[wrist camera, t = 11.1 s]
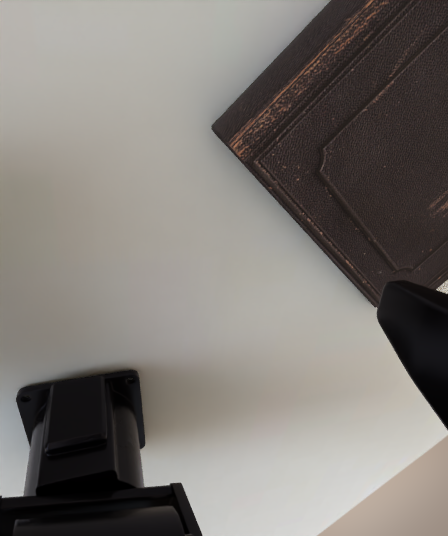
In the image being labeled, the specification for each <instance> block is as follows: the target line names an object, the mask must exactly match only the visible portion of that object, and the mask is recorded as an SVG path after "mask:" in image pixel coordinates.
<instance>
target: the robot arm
mask: <svg viewBox="0 0 448 536" xmlns="http://www.w3.org/2000/svg"><path fill="white" fill-rule="evenodd" d="M377 319H378V322H379V324H380V326H381V327H382V329H383V331H384V333H385V334H386V336H387V338H388V340H389V341H390V343H391V345H392V347H393V348H394V350H395V352H396V354H397V355H398V357H399V359H400V360H401V362H402V364H403V366H404V367H405V369H406V371H407V372H408V374H409V376H410V377H411V379H412V380H413V382H414V383H415V385H416V386H417V388H418V389H419V390H420V392H421V393H422V395H423V396H424V397H425V399H426V400H427V402H428V403H429V404H430V406H431V407H432V409H433V410H434V412H435V413H436V414H437V416H438V417H439V419H440V420H441V421H442V423H443V424H444V426H445V427H446V428H447V430H448V294H446V293H443V292H440V291H437V290H434V289H431V288H428V287H425V286H422V285H418V284H415V283H412V282H409V281H406V280H397V281H389V282H387V283H386V284H385V285H384V287H383V290H382V294H381V298H380V301H379V305H378V309H377ZM129 378H133V379H131V380H128V379H129ZM24 396H30V397H24ZM16 402H17V405H18V408H19V412H20V415H21V418H22V422H23V425H24V428H25V432H26V435H27V438H28V441H29V445H30V454H29V461H28V468H27V475H26V481H25V488H24V495H23V496H21V497H8V498H2V496H0V536H202V533H201V531H200V528H199V526H198V523H197V521H196V518H195V516H194V513H193V511H192V508H191V506H190V503H189V501H188V498H187V496H186V493H185V491H184V488H183V486H182V483H170V485H168V486H155V487H144V480H143V471H142V463H141V454H140V449H142V448H143V447H144V446H145V434H144V424H143V413H142V402H141V391H140V380H139V374H138V372H137V371H135V370H126V371H120V372H114V373H108V374H102V375H96V376H90V377H84V378H77V379H71V380H65V381H59V382H53V383H47V384H41V385H35V386H29V387H24V388H21V389H20V390H19V391H18V393H17V397H16Z"/></svg>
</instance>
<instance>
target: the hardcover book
mask: <svg viewBox="0 0 448 536" xmlns="http://www.w3.org/2000/svg"><path fill="white" fill-rule="evenodd" d="M212 130H213V131H214V133H215V134H216V135H217V136H218V137H219V138H220V139H221V141H222V142H223V143H224V144H225V145H226V146H227V147H228V148H229V149H230V150H231V151H232V153H233V154H234V155H235V156H236V157H237V158H238V159H239V160H240V161H241V162H242V163H243V164H244V166H245V167H246V168H247V169H248V170H249V171H250V172H251V173H252V174H253V175H254V176H255V178H256V179H257V180H258V181H259V182H260V183H261V184H262V185H263V186H264V187H265V188H266V190H267V191H268V192H269V193H270V194H271V195H272V196H273V197H274V198H275V199H276V200H277V201H278V203H279V204H280V205H281V206H282V207H283V208H284V209H285V210H286V211H287V212H288V213H289V215H290V216H291V217H292V218H293V219H294V220H295V221H296V222H297V223H298V224H299V225H300V227H301V228H302V229H303V230H304V231H305V232H306V233H307V234H308V235H309V236H310V237H311V238H312V240H313V241H314V242H315V243H316V244H317V245H318V246H319V247H320V248H321V249H322V250H323V252H324V253H325V254H326V255H327V256H328V257H329V258H330V259H331V260H332V261H333V262H334V264H335V265H336V266H337V267H338V268H339V269H340V270H341V271H342V272H343V273H344V274H345V275H346V277H347V278H348V279H349V280H350V281H351V282H352V283H353V284H354V285H355V286H356V287H357V289H358V290H359V291H360V292H361V293H362V294H363V295H364V296H365V297H366V298H367V299H368V301H369V302H370V303H371V304H372V305H373V306H374V307H377V308H378V305H379V301H380V298H381V294H382V290H383V287H384V285H385V284H386V283H387V282H389V281H397V280H406V281H409V282H412V283H415V284H418V285H422V286H425V287H428V288H431V289H434V290H436V289H437V288H438V287H439V286H441V285H442V284H443V283H444V282H445V281H446V280H448V0H331V1H330V2H329V3H328V4H327V5H326V6H325V7H324V9H323V10H322V11H321V12H320V13H319V14H318V15H317V16H316V17H315V18H314V19H313V20H312V21H311V22H310V23H309V24H308V25H307V26H306V27H305V29H304V30H303V31H302V32H301V33H300V34H299V35H298V36H297V37H296V38H295V39H294V40H293V41H292V42H291V43H290V44H289V45H288V46H287V47H286V48H285V50H284V51H283V52H282V53H281V54H280V55H279V56H278V57H277V58H276V59H275V60H274V61H273V62H272V63H271V64H270V65H269V66H268V67H267V68H266V70H265V71H264V72H263V73H262V74H261V75H260V76H259V77H258V78H257V79H256V80H255V81H254V82H253V83H252V84H251V85H250V86H249V87H248V88H247V90H246V91H245V92H244V93H243V94H242V95H241V96H240V97H239V98H238V99H237V100H236V101H235V102H234V103H233V104H232V105H231V106H230V107H229V108H228V109H227V111H226V112H225V113H224V114H223V115H222V116H221V117H220V118H219V119H218V120H217V121H216V122H215V123H214V124H213V125H212Z"/></svg>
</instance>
